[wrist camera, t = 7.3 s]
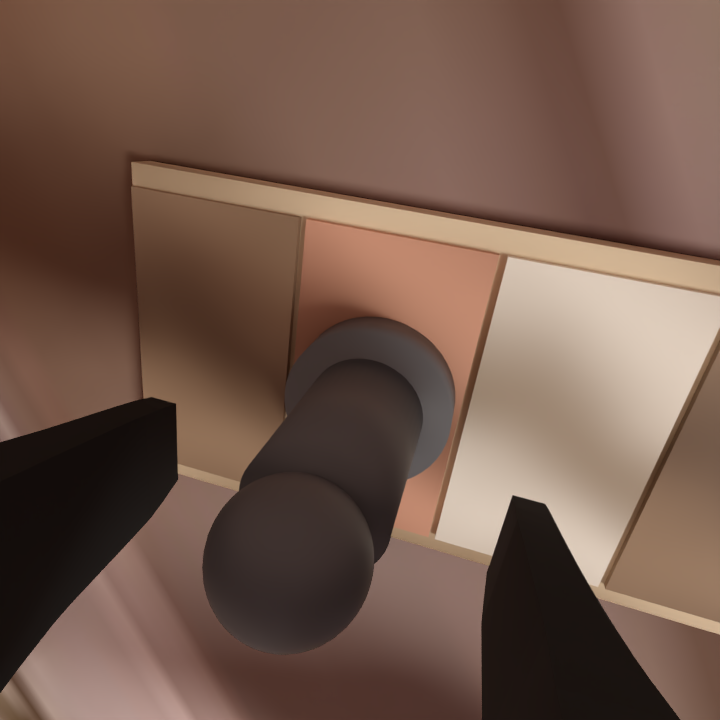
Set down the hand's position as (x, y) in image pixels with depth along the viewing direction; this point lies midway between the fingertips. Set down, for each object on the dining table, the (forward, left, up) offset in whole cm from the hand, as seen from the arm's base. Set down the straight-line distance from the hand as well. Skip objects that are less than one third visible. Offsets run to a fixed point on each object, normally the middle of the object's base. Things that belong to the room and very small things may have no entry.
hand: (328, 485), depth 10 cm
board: (0, -5, -5) cm, 7 cm away
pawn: (0, 0, -4) cm, 4 cm away
